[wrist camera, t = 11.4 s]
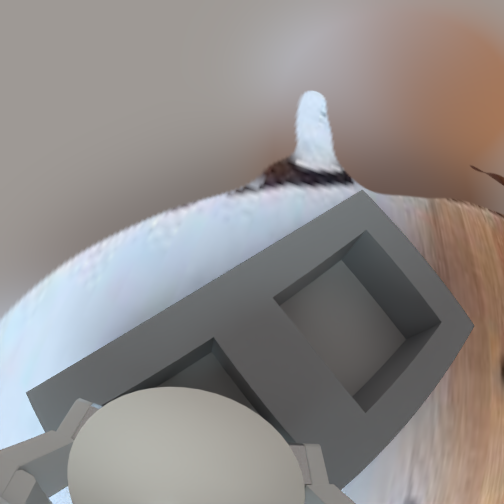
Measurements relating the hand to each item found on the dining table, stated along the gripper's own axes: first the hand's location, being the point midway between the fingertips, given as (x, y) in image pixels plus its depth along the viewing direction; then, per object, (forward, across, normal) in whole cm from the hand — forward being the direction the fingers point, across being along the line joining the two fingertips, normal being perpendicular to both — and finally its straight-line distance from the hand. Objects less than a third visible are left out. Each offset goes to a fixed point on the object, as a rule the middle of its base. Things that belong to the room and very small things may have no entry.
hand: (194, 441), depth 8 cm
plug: (+3, 0, +4) cm, 5 cm away
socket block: (+7, -3, +3) cm, 8 cm away
